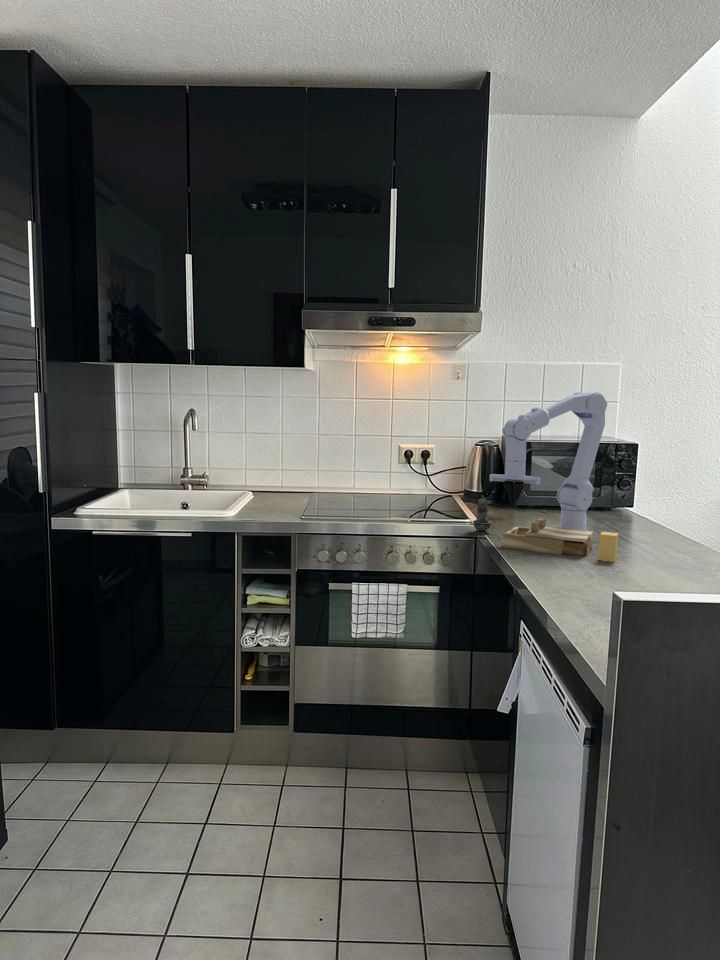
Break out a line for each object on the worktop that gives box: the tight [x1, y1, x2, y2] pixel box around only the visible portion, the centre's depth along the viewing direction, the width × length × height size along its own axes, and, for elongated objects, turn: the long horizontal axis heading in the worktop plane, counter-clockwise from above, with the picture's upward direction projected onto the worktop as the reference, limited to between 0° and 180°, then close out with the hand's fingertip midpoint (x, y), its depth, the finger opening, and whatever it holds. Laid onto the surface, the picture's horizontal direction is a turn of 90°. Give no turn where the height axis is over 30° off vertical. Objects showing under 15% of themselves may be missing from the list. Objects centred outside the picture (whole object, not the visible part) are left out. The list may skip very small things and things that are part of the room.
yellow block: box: [598, 531, 619, 563], centre depth 172 cm, size 4×4×7 cm
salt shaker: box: [472, 495, 492, 536], centre depth 204 cm, size 6×6×12 cm
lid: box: [525, 517, 595, 542], centre depth 183 cm, size 13×16×3 cm
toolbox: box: [502, 526, 593, 556], centre depth 185 cm, size 13×22×4 cm, turn 61°
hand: (513, 507), depth 191 cm, fingers closed
